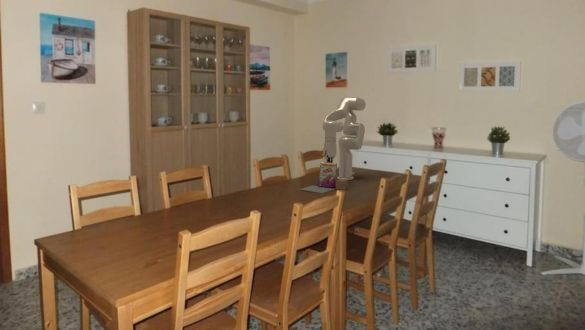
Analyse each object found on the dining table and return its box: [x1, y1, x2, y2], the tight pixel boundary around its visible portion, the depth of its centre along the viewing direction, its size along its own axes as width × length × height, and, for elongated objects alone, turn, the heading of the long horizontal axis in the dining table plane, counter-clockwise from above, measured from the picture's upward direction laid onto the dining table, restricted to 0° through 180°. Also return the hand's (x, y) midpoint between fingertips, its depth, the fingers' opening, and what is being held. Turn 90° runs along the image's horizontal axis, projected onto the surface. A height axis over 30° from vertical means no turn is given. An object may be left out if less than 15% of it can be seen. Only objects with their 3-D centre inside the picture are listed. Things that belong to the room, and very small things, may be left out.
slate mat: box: [299, 185, 336, 195], centre depth 290 cm, size 15×18×1 cm
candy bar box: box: [318, 161, 338, 189], centre depth 297 cm, size 11×5×16 cm, turn 84°
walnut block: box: [335, 179, 348, 191], centre depth 293 cm, size 6×6×6 cm
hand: (329, 167), depth 300 cm, fingers closed
